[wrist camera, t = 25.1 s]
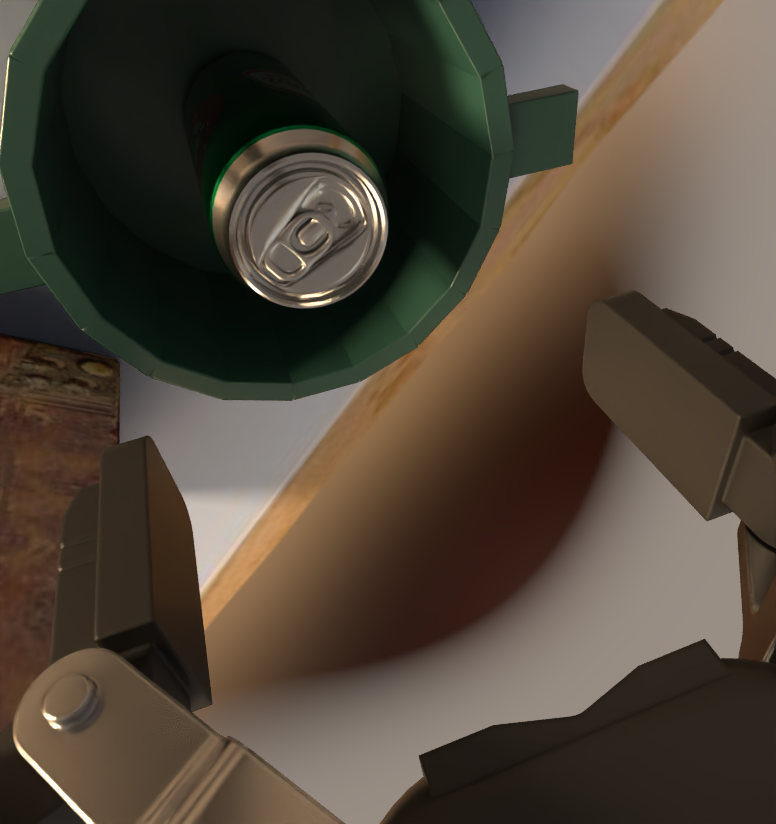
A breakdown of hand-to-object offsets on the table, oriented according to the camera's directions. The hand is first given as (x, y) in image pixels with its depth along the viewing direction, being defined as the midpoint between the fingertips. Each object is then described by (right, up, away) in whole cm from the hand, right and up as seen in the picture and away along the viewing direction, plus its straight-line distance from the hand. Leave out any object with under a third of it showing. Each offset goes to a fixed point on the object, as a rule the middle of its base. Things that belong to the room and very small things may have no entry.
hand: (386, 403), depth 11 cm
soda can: (-6, +12, +15) cm, 20 cm away
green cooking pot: (-6, +12, +15) cm, 20 cm away
